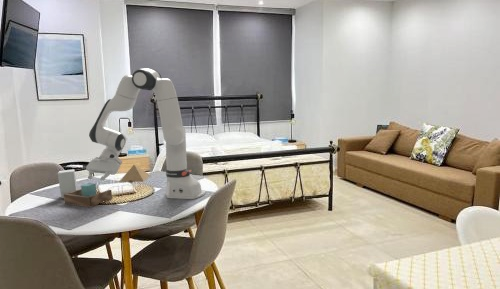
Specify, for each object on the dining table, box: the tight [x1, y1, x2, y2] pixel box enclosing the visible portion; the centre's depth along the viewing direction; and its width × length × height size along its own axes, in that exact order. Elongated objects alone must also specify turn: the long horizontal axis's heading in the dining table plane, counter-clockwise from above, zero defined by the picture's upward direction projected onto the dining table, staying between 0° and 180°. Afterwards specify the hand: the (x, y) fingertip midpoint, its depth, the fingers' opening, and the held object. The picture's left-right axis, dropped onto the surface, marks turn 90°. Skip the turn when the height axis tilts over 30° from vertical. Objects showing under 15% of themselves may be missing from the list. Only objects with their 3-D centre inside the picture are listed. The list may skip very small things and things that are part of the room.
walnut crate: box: [63, 188, 113, 208], centre depth 192 cm, size 15×18×5 cm
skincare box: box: [57, 168, 79, 199], centre depth 201 cm, size 8×6×15 cm
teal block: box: [80, 182, 97, 197], centre depth 192 cm, size 5×5×9 cm
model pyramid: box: [118, 164, 151, 183], centre depth 239 cm, size 17×17×10 cm
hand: (95, 179), depth 196 cm, fingers open, 8 cm apart
